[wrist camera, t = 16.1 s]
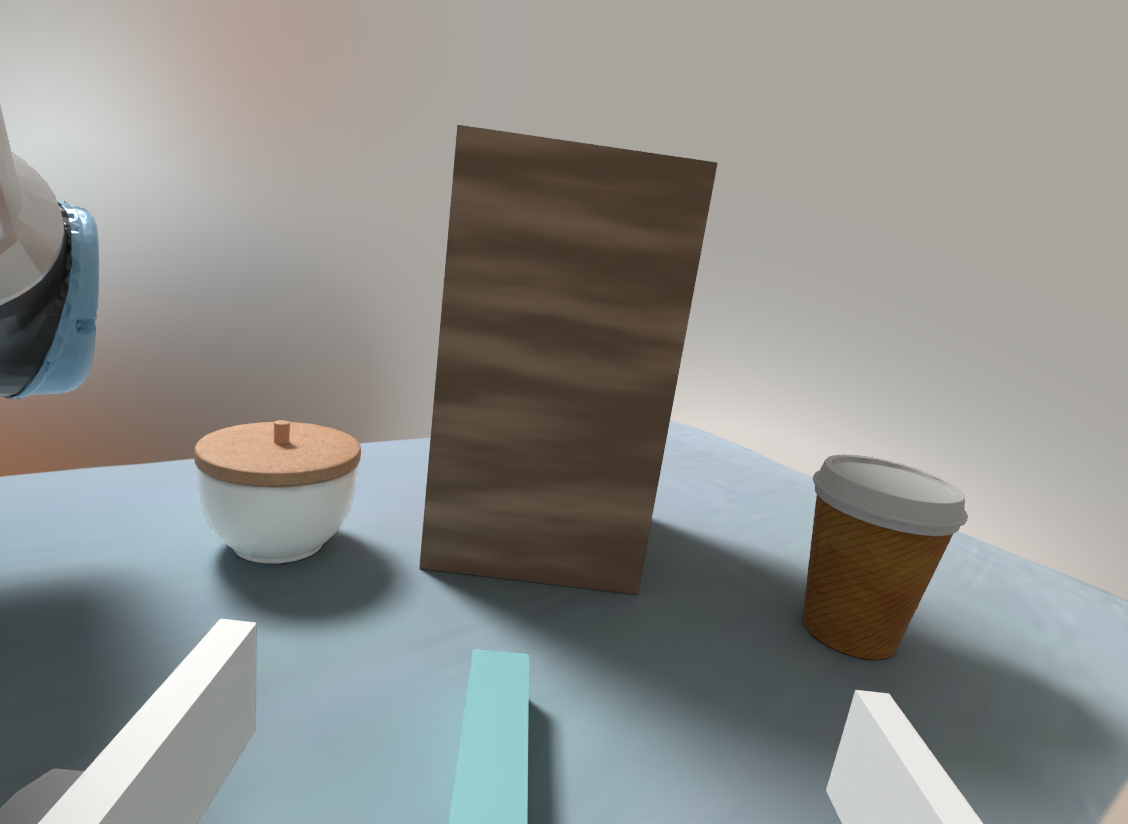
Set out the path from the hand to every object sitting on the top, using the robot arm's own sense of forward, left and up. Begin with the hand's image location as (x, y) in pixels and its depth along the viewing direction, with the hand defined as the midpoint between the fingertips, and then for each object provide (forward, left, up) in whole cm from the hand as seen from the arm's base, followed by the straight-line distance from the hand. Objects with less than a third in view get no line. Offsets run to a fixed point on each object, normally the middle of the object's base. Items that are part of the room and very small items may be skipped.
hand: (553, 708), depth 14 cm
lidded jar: (-30, +21, -15) cm, 40 cm away
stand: (-16, +35, -14) cm, 41 cm away
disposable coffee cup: (+9, +36, -15) cm, 39 cm away
